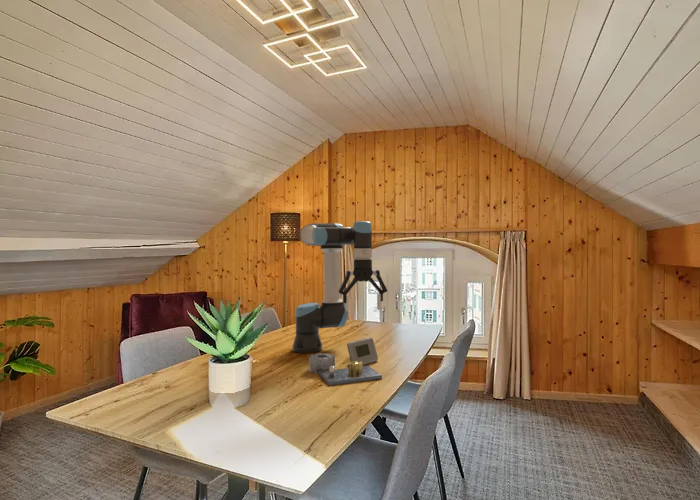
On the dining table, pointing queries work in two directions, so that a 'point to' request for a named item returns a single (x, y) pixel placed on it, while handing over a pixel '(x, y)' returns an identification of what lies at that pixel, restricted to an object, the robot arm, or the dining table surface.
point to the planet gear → (321, 362)
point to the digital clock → (362, 351)
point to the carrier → (349, 374)
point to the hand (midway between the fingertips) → (363, 310)
